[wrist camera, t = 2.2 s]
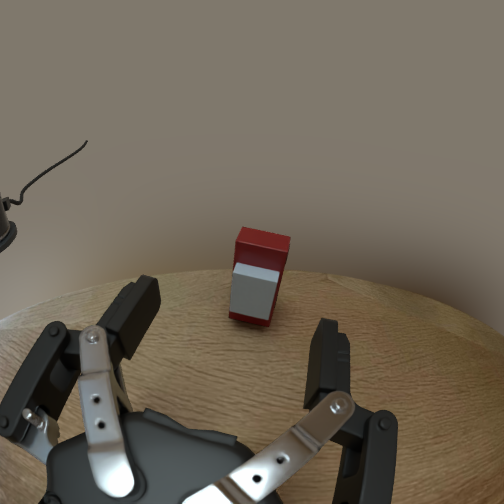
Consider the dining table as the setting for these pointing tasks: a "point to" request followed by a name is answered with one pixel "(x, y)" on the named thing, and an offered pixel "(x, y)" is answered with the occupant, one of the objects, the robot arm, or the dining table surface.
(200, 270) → the dining table surface
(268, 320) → the red and grey block
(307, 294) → the dining table surface
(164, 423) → the robot arm
